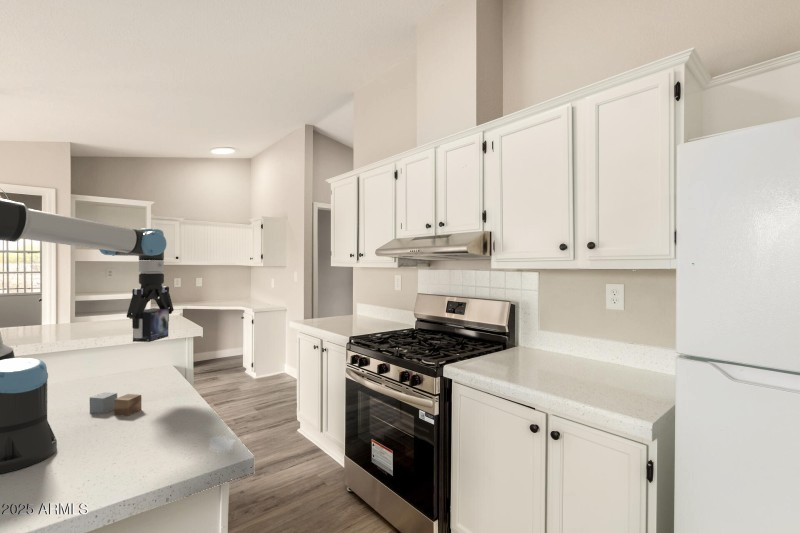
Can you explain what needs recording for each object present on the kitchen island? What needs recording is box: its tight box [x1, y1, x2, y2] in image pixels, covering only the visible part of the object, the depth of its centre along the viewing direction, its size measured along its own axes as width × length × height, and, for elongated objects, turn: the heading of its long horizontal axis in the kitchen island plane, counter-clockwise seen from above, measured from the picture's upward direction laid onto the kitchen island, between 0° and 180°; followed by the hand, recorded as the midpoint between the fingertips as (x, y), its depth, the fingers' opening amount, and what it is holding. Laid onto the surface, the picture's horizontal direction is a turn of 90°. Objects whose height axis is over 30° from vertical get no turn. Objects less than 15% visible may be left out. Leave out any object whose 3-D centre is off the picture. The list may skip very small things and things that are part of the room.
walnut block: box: [113, 393, 142, 417], centre depth 123 cm, size 5×5×5 cm
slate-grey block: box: [89, 391, 118, 415], centre depth 125 cm, size 5×5×5 cm
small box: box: [132, 307, 170, 343], centre depth 138 cm, size 11×6×10 cm, turn 179°
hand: (151, 334), depth 138 cm, fingers closed on small box, 11 cm apart
